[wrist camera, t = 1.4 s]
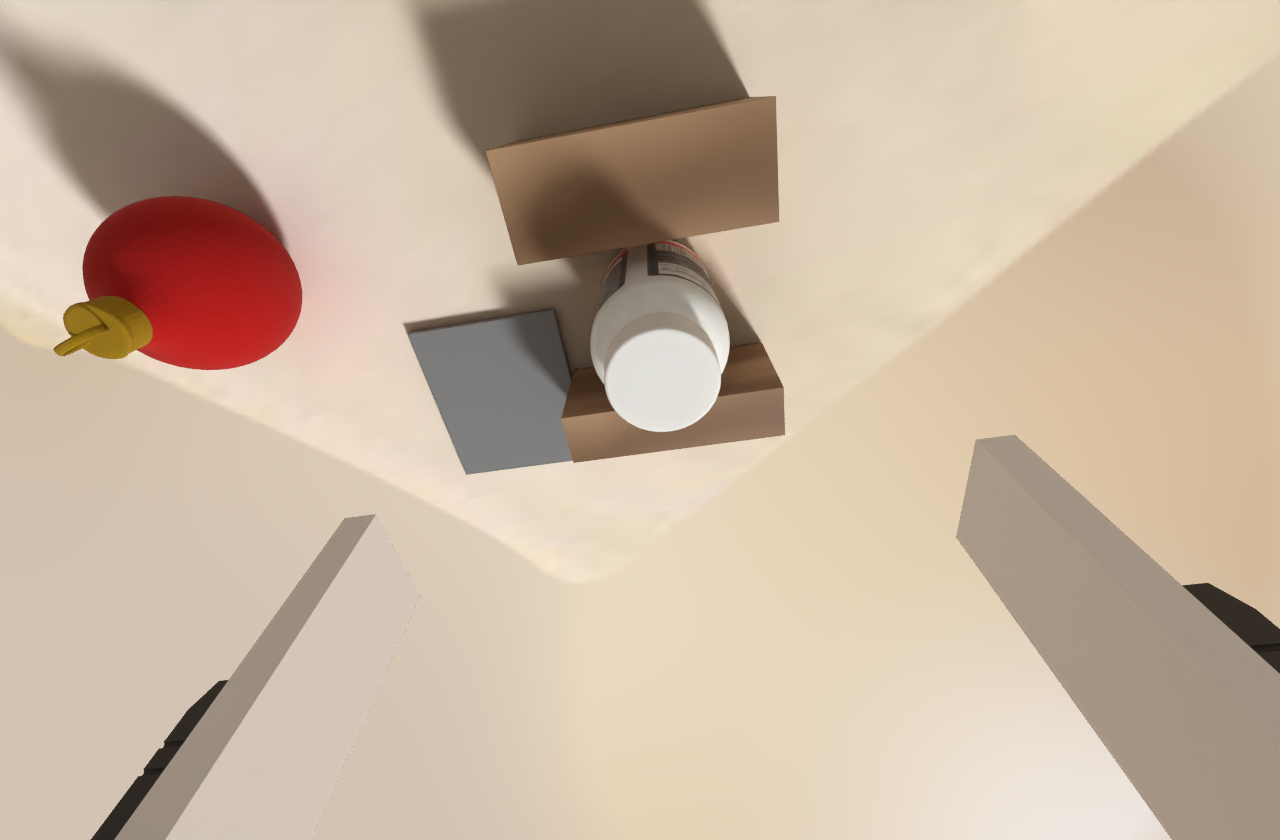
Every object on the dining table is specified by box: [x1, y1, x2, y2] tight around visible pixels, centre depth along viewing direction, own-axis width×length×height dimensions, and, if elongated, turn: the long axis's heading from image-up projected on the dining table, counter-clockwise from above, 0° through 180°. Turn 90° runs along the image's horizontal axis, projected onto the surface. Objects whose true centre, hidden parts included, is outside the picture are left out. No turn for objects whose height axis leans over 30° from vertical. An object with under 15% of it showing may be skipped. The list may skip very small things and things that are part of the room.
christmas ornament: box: [54, 196, 302, 370], centre depth 21 cm, size 7×7×10 cm
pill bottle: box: [590, 240, 730, 432], centre depth 22 cm, size 5×5×10 cm
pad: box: [408, 309, 573, 475], centre depth 29 cm, size 9×8×1 cm
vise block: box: [486, 96, 785, 463], centre depth 23 cm, size 14×10×5 cm
